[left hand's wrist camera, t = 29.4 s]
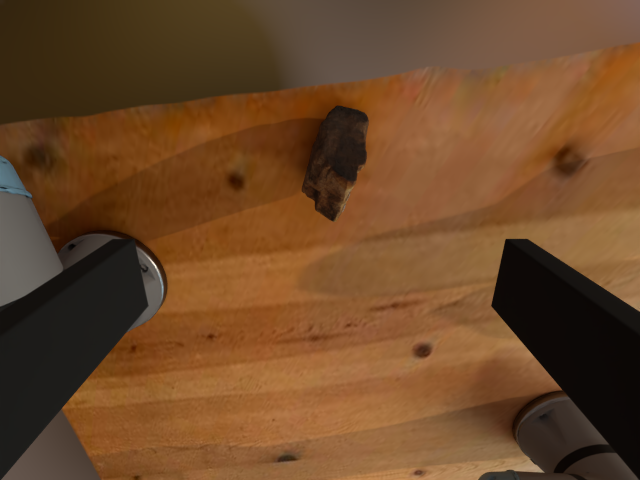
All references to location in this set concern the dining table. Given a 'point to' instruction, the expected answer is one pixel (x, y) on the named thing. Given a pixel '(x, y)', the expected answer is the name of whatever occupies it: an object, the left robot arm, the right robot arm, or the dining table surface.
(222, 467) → the dining table surface
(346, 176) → the decorative rock
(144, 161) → the dining table surface
